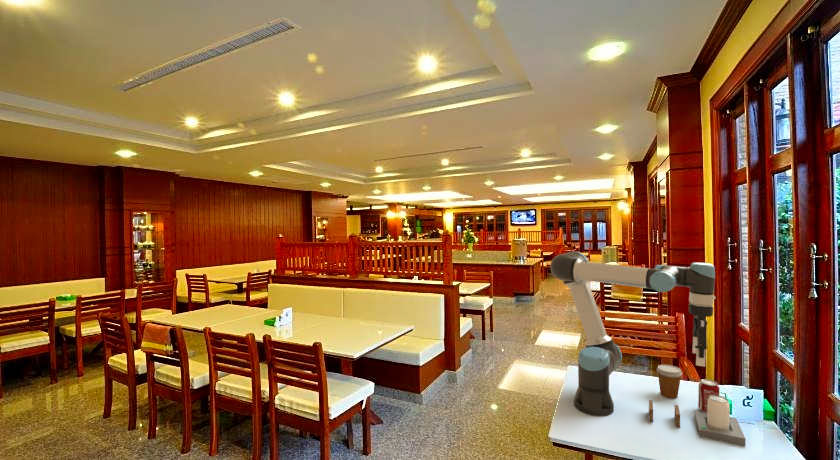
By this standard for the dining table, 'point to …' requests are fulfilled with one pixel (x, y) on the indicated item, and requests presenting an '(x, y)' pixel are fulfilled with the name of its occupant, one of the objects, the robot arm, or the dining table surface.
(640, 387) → the dining table surface
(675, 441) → the dining table surface
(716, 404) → the can
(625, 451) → the dining table surface
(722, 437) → the port block
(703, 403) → the soda can
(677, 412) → the brown narrow blocks
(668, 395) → the disposable coffee cup
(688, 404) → the dining table surface
